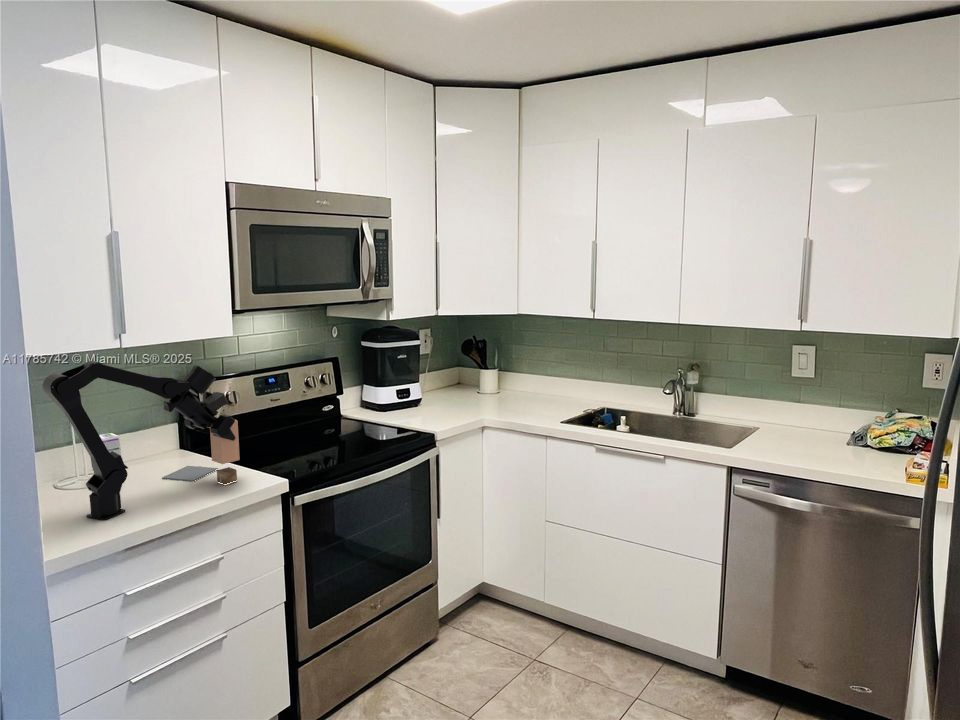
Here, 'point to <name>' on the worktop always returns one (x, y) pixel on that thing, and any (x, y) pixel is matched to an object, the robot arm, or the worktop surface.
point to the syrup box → (111, 442)
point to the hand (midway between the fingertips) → (228, 437)
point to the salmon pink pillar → (225, 447)
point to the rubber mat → (189, 473)
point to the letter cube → (226, 475)
